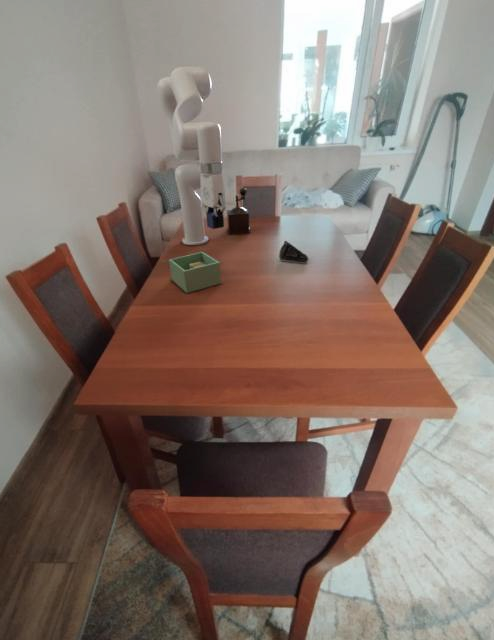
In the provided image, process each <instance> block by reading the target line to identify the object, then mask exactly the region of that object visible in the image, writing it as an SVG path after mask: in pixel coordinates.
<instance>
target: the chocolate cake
mask: <svg viewBox="0 0 494 640" xmlns="http://www.w3.org/2000/svg"><path fill="white" fill-rule="evenodd" d="M278 258H279V261H280V262H286V263H294V264H301V265H304V264H307V263H308V261H309V257H308V255H307V254H305V253H303V252H302V251H301V250H300V249H299V248H297V247H295V245H293V244H291V243H290V242H289V241H288V240H287V241H286V240H284V242H283V245H282V246H281V247H280V250H279V254H278Z"/></svg>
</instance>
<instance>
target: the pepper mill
mask: <svg viewBox="0 0 494 640" xmlns="http://www.w3.org/2000/svg"><path fill="white" fill-rule="evenodd" d="M238 192H239V194H240V198H239V195H235V202H236V203H235V204H236V205H235V207H233V208H231V209H227V210H226V220H227V232H228V235H230V236H231V235H246V234H247V235H248V234H250V230H251V228H250V214H249V210H248V209H247V208H245V206H244V205H243V207H242V206H239V202H240V201H242V200H243V201H244V200H245V199H247V197H246V195H247V194H248V190H247V188H243V187H242V188H239V191H238Z"/></svg>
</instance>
